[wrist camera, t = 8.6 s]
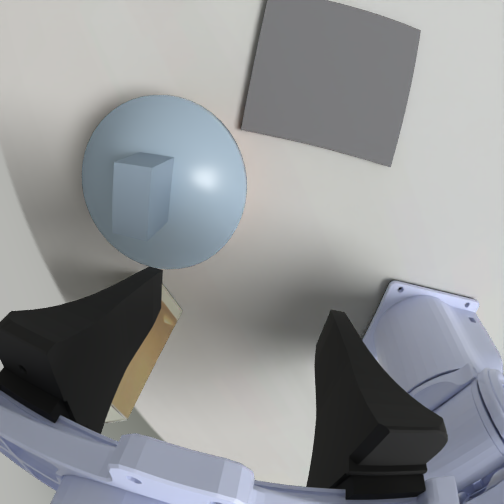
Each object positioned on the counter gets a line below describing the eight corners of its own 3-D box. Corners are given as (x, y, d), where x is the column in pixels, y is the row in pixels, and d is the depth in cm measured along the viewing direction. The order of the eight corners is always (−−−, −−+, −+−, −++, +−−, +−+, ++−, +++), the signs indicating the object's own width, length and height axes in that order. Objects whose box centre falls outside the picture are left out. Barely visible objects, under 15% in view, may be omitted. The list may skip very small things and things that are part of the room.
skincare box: (139, 331, 29) (79, 428, 18) (110, 297, 28) (37, 388, 17) (187, 310, 27) (129, 423, 16) (156, 270, 26) (77, 375, 15)
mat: (418, 31, 15) (420, 30, 14) (388, 166, 19) (390, 167, 19) (270, -9, 15) (269, -11, 15) (241, 129, 20) (240, 129, 19)
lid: (263, 108, 16) (254, 109, 13) (230, 281, 21) (218, 314, 18) (92, 91, 16) (56, 93, 13) (88, 244, 21) (60, 267, 18)
